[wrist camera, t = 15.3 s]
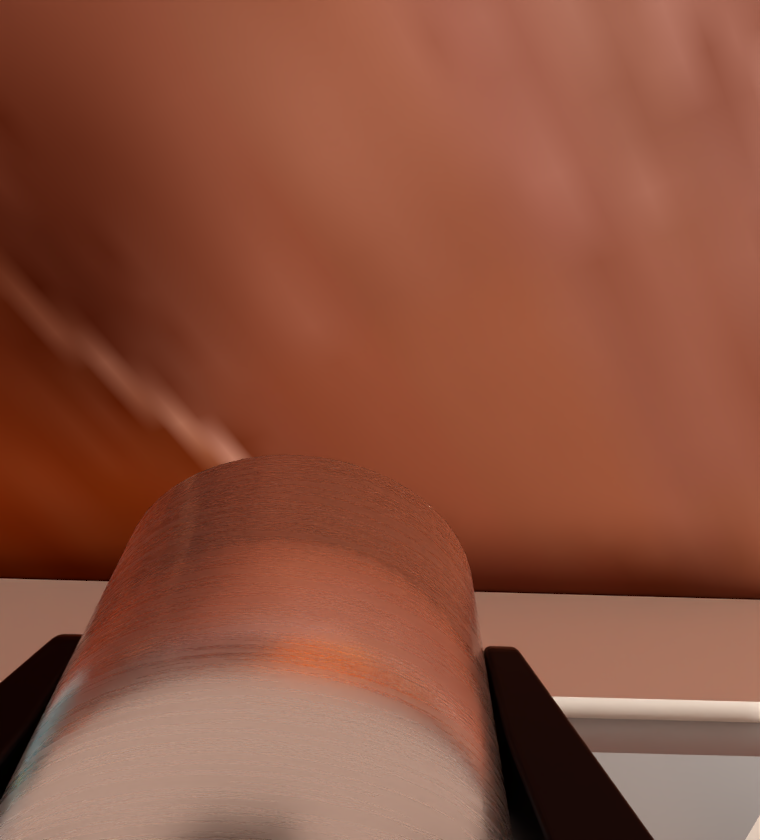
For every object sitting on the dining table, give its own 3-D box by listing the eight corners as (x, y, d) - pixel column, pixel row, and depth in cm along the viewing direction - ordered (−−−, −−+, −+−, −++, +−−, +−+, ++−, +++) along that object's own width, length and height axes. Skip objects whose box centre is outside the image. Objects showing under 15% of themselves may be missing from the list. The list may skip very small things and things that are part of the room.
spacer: (493, 461, 8) (607, 923, 4) (455, 713, 11) (501, 1160, 7) (93, 448, 8) (-221, 905, 4) (150, 703, 11) (-4, 1150, 7)
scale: (802, 600, 17) (903, 739, 14) (650, 905, 25) (690, 1037, 22) (-70, 576, 17) (-182, 711, 13) (64, 892, 25) (16, 1023, 22)
